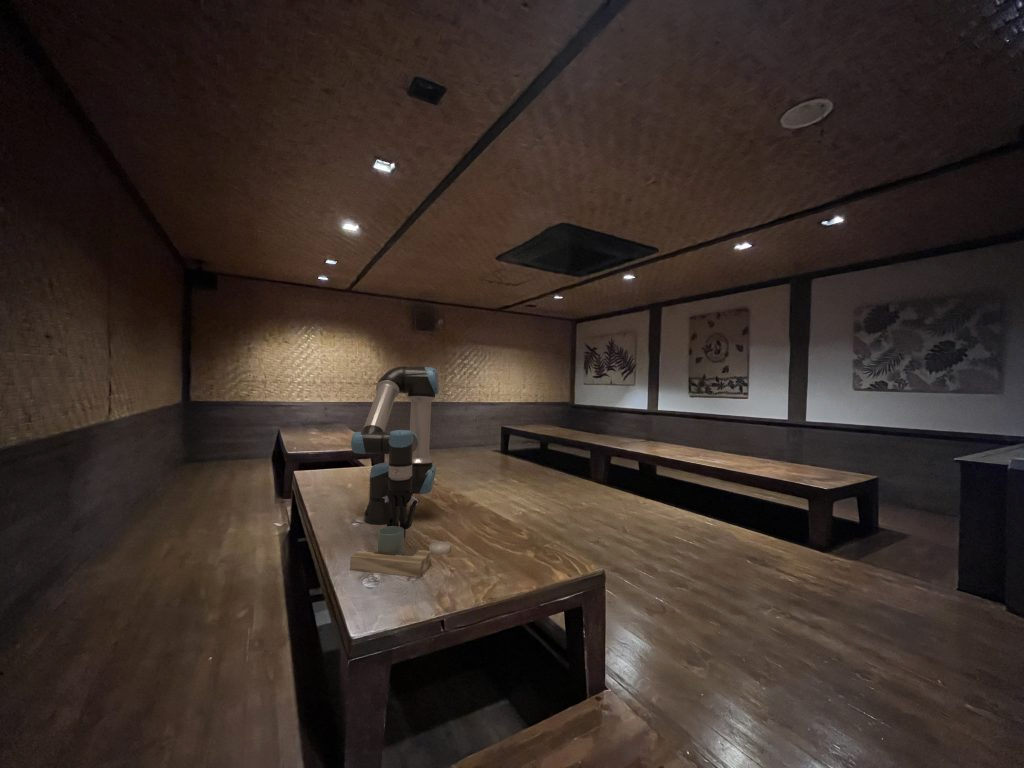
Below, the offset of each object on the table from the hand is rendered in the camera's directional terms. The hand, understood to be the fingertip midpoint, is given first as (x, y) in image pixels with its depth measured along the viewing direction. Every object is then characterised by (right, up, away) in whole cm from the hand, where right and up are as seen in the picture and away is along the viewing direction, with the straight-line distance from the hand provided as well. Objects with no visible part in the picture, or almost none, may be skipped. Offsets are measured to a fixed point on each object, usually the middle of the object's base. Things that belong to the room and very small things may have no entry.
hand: (398, 548), depth 130 cm
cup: (-1, -2, -5) cm, 6 cm away
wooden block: (0, -2, -9) cm, 9 cm away
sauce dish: (+13, -3, +5) cm, 14 cm away
